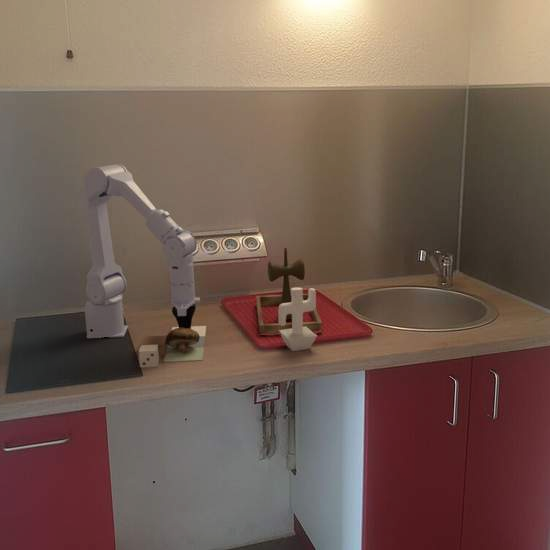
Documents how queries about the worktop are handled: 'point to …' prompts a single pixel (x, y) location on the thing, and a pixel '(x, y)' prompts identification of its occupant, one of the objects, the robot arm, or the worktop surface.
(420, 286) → the worktop surface
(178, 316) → the robot arm
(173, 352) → the board
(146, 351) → the beige cube
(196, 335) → the mushroom
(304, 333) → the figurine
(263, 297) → the brown rectangular frame
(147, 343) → the plinth
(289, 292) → the kendama
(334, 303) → the worktop surface
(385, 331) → the worktop surface
